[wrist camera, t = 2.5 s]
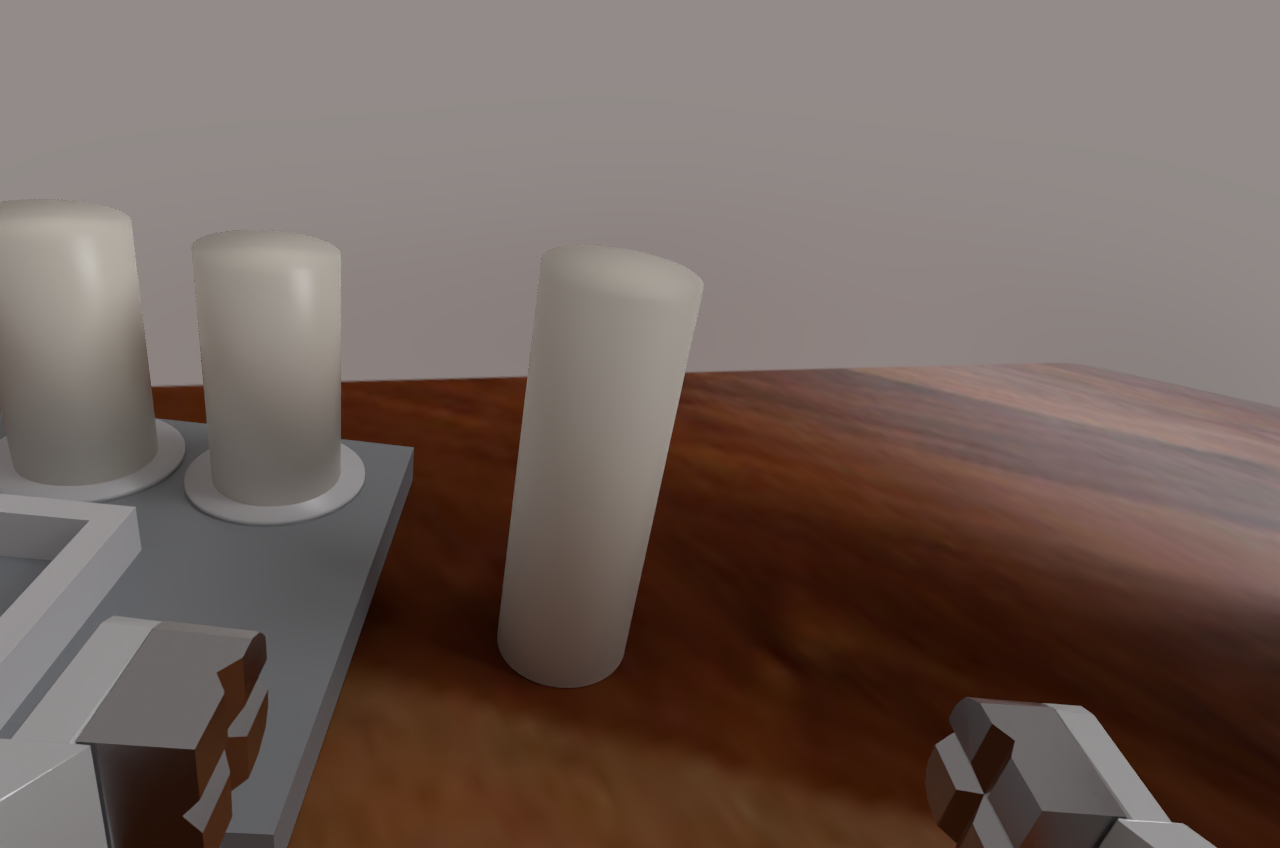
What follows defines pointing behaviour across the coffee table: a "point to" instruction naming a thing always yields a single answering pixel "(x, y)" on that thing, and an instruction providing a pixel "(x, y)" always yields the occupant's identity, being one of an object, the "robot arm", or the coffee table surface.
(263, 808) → the pin board
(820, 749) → the coffee table surface
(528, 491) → the ivory pin
